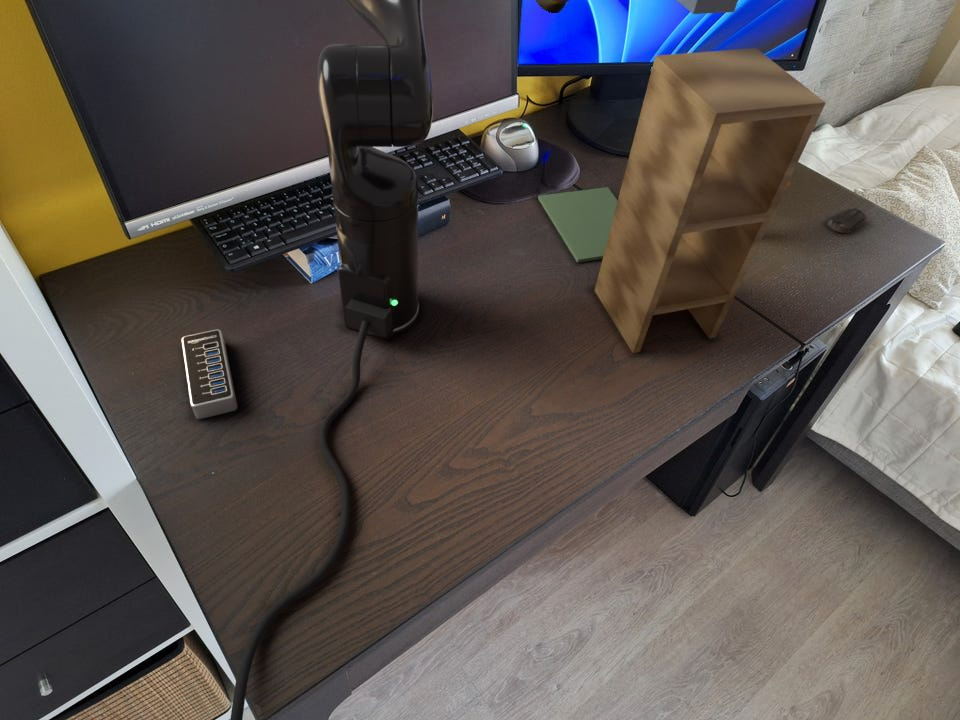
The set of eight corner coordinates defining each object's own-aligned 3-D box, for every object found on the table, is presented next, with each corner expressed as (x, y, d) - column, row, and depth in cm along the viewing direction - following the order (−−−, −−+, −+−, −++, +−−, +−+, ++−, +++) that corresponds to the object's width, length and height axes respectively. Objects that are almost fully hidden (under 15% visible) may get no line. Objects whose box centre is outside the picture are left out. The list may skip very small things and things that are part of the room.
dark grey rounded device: (863, 223, 107) (869, 214, 105) (844, 237, 104) (850, 227, 102) (843, 212, 108) (848, 203, 107) (823, 225, 106) (828, 215, 104)
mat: (652, 251, 98) (653, 248, 98) (577, 262, 95) (578, 259, 95) (607, 190, 108) (607, 186, 108) (538, 198, 105) (538, 195, 105)
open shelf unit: (715, 337, 87) (826, 102, 63) (632, 353, 84) (716, 113, 60) (671, 277, 94) (756, 47, 71) (594, 290, 91) (655, 55, 68)
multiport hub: (196, 420, 73) (190, 407, 71) (185, 349, 79) (180, 336, 78) (238, 409, 74) (233, 396, 72) (224, 341, 81) (220, 328, 79)
